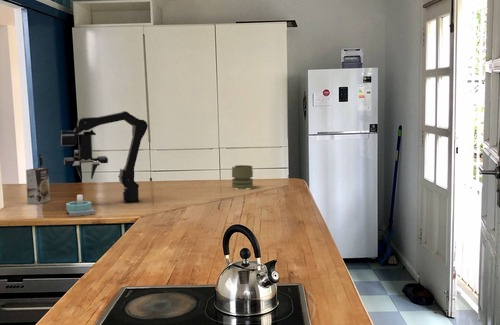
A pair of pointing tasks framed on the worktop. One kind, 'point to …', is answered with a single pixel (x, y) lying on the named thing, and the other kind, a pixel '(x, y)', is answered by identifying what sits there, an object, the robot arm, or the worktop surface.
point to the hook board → (79, 213)
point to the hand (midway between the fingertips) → (86, 179)
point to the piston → (242, 176)
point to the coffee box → (37, 185)
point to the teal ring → (78, 206)
